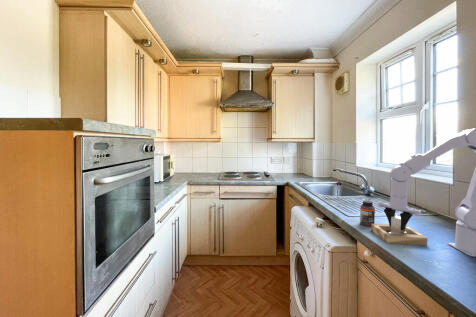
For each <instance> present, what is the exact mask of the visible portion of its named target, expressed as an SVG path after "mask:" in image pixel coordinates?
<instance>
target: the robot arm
mask: <svg viewBox="0 0 476 317" xmlns="http://www.w3.org/2000/svg"><path fill="white" fill-rule="evenodd" d="M465 147H466V148H469V149H470V150H472V151H473V152H474V153H475V154H476V128H475V127H474V128H468V129H464V130H461V132H458V133H456V134H453V135H452V136H449V137H448V138H447V139H445V140H443V141H441V143H439V144H438V145H436V146H434V147H433V148H431V149H430V150H428V151H426V152H425V153H423V154H421V153H417V154H412V155H411V156H410V158H409V159H406V160H405V161H403V162H400V163H399V165H397V166H394V167H393V168H392V169H391V170H390V176H391V180H390V181H391V183H390V194H389V195H390V197H389V198H390V199H389V202H385V201H384V202H383V201H378V203H377V207H379V208H384V209H383V212H384V214H385V216H386V219H387V221H388V224H389V226H390V227H391V217H392V216H395V215H396V211H398V212H400V213H399V215H400V217H401V230H405V228H406V226H408V225H407V224H408V222H409V221H410V219H412V217H413V215H415V217H416V216H417V217H419V216H421V215H422V210H420V209H417V208H413V207H409V206H408V197H409V196H408V195H409V180H410V178H411V176H413V175H417V173H419V172H421V171H422V170H424V169H426V168H428V167H429V166H430V165H431V161H433V160H435V159H436V158H439V157H440V156H442V155H444V154H446V153H448V152H450V151H451V150H454V149H456V148H457V149H458V148H465ZM471 176H472V177H471V180H470V183H469V186H468V189H467V191H466V192H467V193H466V196H465V197H464V198H463V199H462V200H461V201H460V204H459V205H457V206H456V208H455V209H454V215H455V217H456V218H457V221H456V222H455V235H454V237H455V238H454V242H447V245H449V246H450V247H453V248H455V249H457V250H458V251H460V252H461V253H464V254H465V255H467V256H469V257H474V258H475V257H476V166H475V168H474V171H473V174H472V175H471Z"/></svg>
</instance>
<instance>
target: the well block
mask: <svg viewBox="0 0 476 317" xmlns="http://www.w3.org/2000/svg"><path fill="white" fill-rule="evenodd" d="M370 231H372V233H374V234H375V235H376V236H378V237H379V238H380V239H381V240H383V241H384V242H385V243H386V244H390V245H391V244H393V245H412V246H415V245H416V246H428V237H427V236H425V235H423V234H421V233H420V232H418V231H417V230H415V229H413V228H411V227H409V226H408V225H406V228H405V231H404V232H406V234H389V232H391V227H390V226H389V223H388V224H387V223H374V224H371V226H370Z"/></svg>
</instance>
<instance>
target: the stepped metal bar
mask: <svg viewBox="0 0 476 317" xmlns="http://www.w3.org/2000/svg"><path fill="white" fill-rule="evenodd" d="M404 231H405V230H401V217H400V216H399V215H396V214H395V216H392V217H391V232H389V234H406V232H404Z"/></svg>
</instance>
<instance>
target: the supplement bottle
mask: <svg viewBox="0 0 476 317" xmlns="http://www.w3.org/2000/svg"><path fill="white" fill-rule="evenodd" d="M373 204H374V202H373V201H371V200H366V199H365V200H363V201H362V204H361V205H360V206H359V207H360V209H359V210H360V212H359V214H360V215H359V224H360V225H363V226H365V227H371V224H375V214H376V208H375V206H374V205H373Z"/></svg>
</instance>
